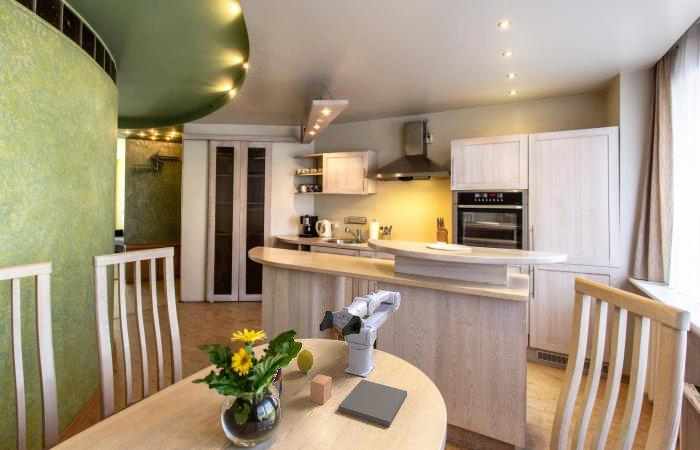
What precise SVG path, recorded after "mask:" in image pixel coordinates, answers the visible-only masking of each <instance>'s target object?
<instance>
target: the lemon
mask: <svg viewBox="0 0 700 450" xmlns="http://www.w3.org/2000/svg"><path fill="white" fill-rule="evenodd" d="M296 362H297V363H296V364H297V367H298V369H299V370H300V371H302V372H304V373H307V372H308V371H310V370H311V369H312V368H313V365H314V356H313V353H312V352H311V351H310V350H308V349H306V348H305V349H304V350H301V351H299V353H298V356H297V361H296Z"/></svg>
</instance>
